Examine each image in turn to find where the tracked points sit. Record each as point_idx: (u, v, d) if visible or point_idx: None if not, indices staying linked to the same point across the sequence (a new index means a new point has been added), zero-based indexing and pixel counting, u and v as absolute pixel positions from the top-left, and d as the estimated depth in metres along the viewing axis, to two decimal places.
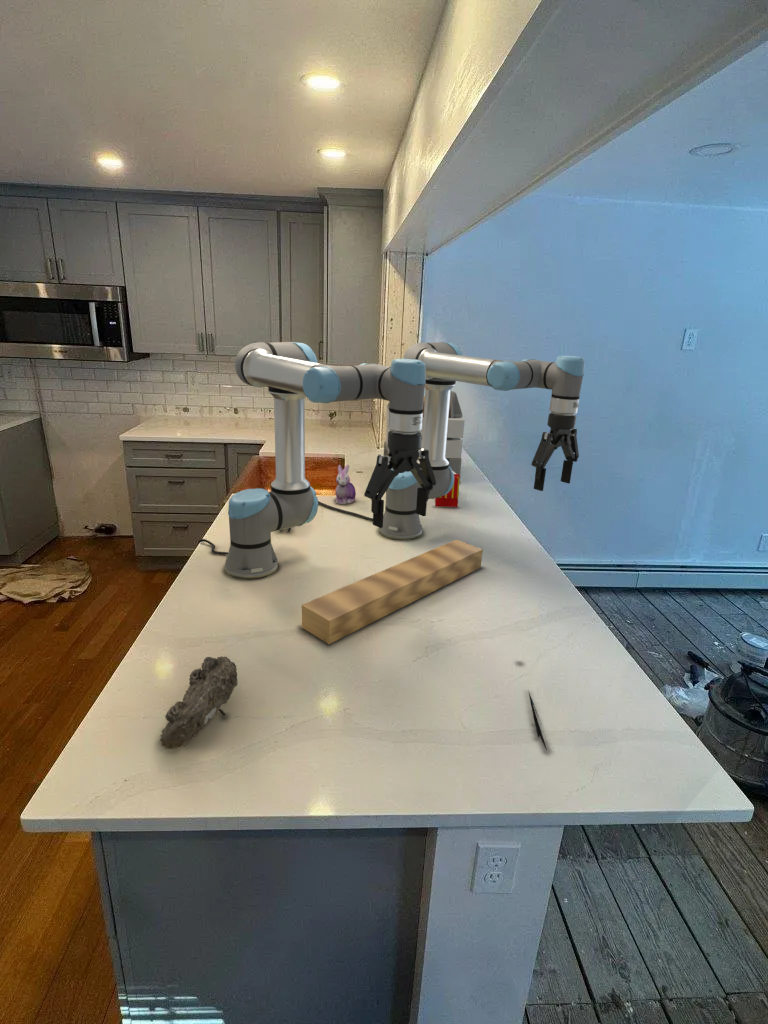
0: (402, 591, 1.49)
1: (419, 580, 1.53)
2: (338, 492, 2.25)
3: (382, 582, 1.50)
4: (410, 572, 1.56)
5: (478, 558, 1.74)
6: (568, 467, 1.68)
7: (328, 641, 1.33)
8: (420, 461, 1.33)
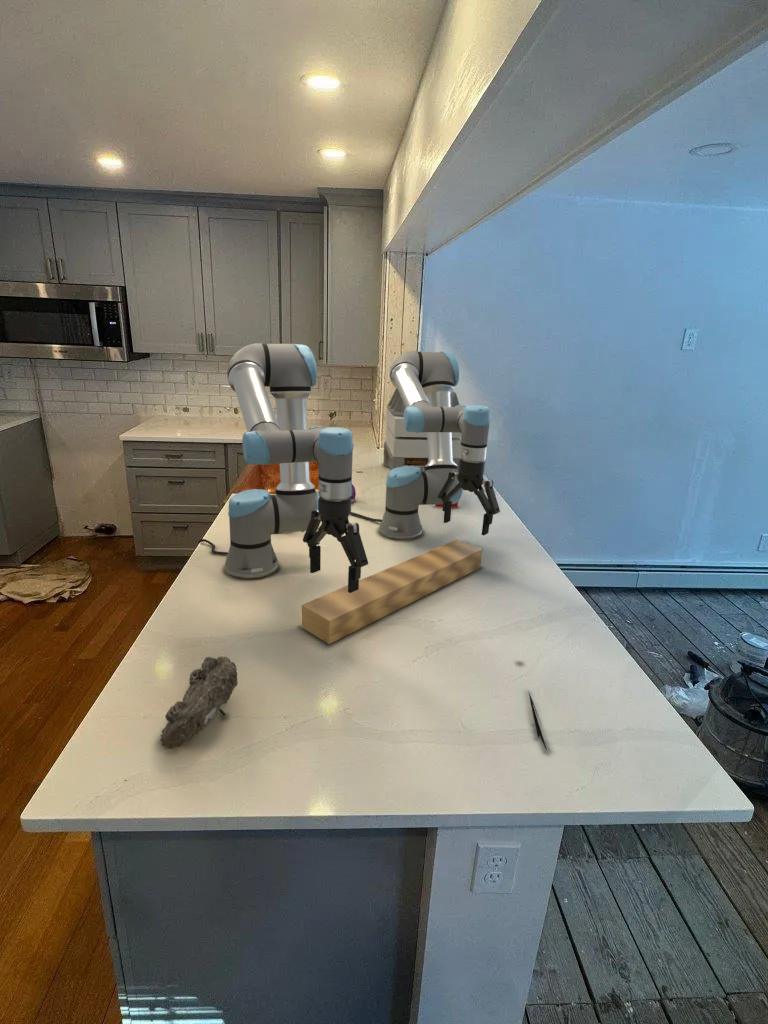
0: (402, 591, 1.49)
1: (419, 580, 1.53)
2: None
3: (382, 582, 1.50)
4: (410, 572, 1.56)
5: (478, 558, 1.74)
6: None
7: (328, 641, 1.33)
8: None
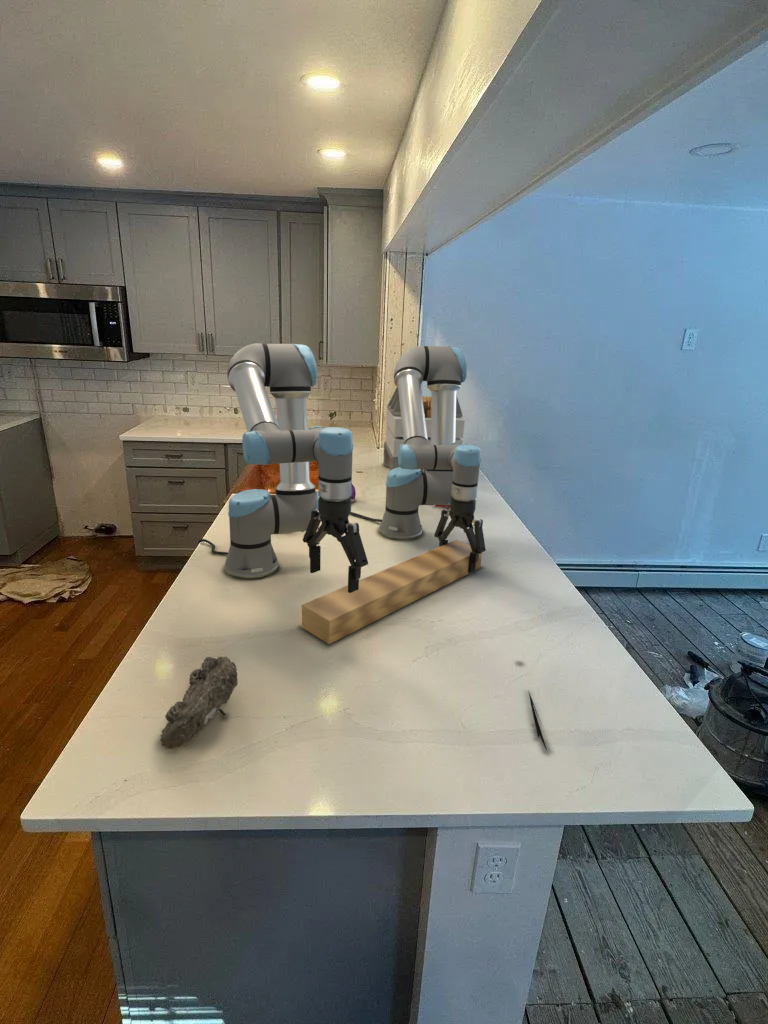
0: (402, 591, 1.49)
1: (419, 580, 1.53)
2: None
3: (382, 582, 1.50)
4: (410, 572, 1.56)
5: None
6: None
7: (328, 641, 1.33)
8: None
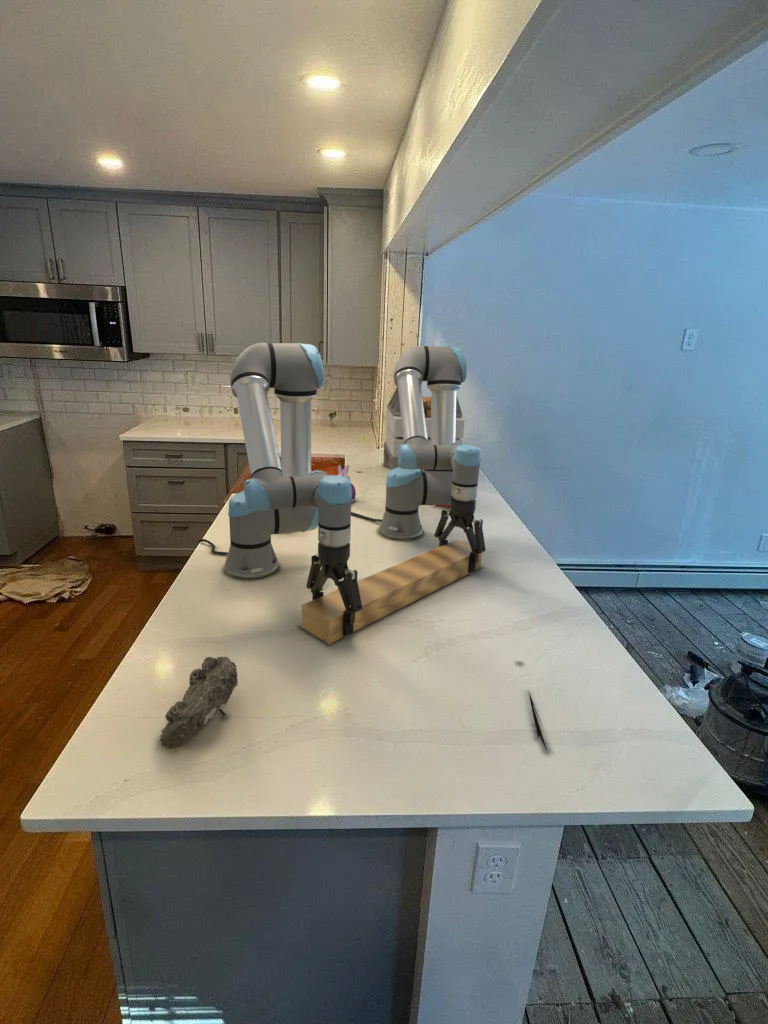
0: (402, 591, 1.49)
1: (419, 580, 1.53)
2: None
3: (382, 582, 1.50)
4: (410, 572, 1.56)
5: None
6: None
7: (328, 641, 1.33)
8: None
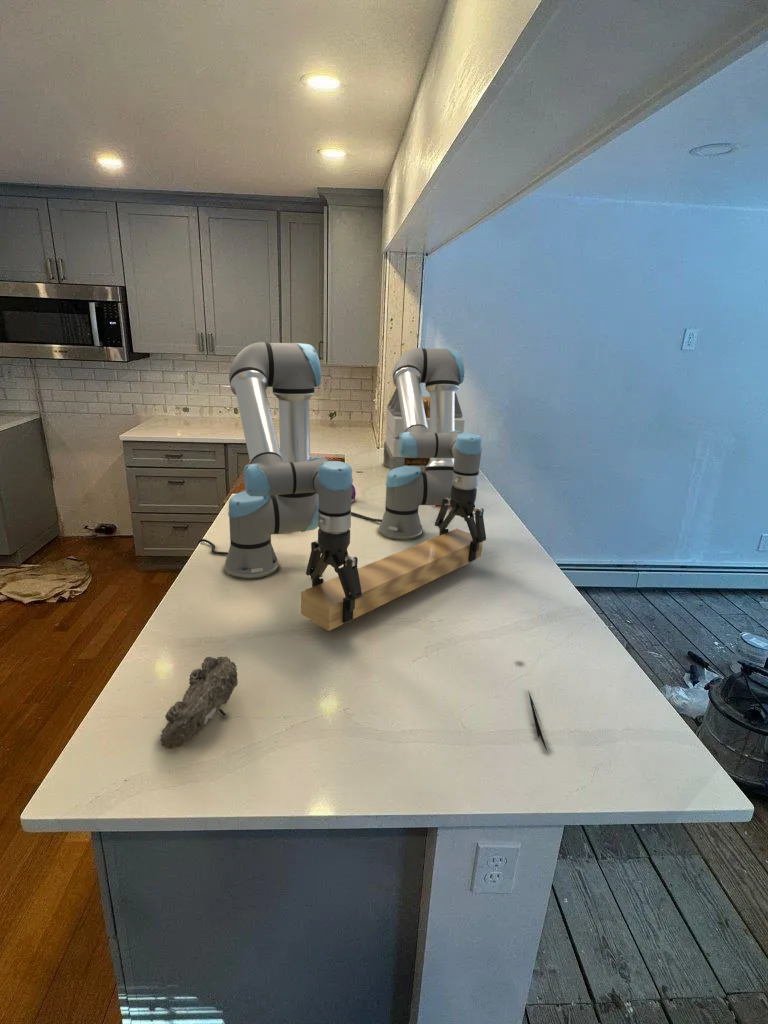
0: (402, 579, 1.48)
1: (419, 568, 1.53)
2: None
3: (382, 570, 1.49)
4: (410, 561, 1.56)
5: (479, 547, 1.73)
6: None
7: (327, 628, 1.32)
8: None
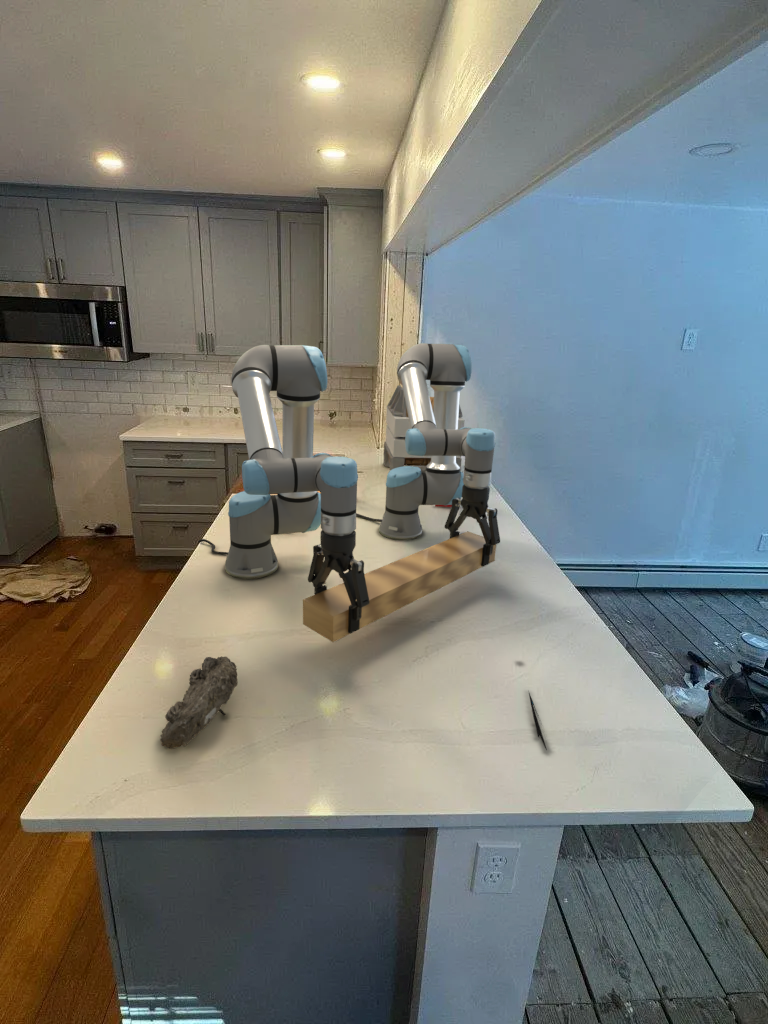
0: (412, 584, 1.37)
1: (429, 573, 1.42)
2: None
3: (389, 575, 1.38)
4: (419, 565, 1.45)
5: None
6: None
7: (332, 639, 1.21)
8: None
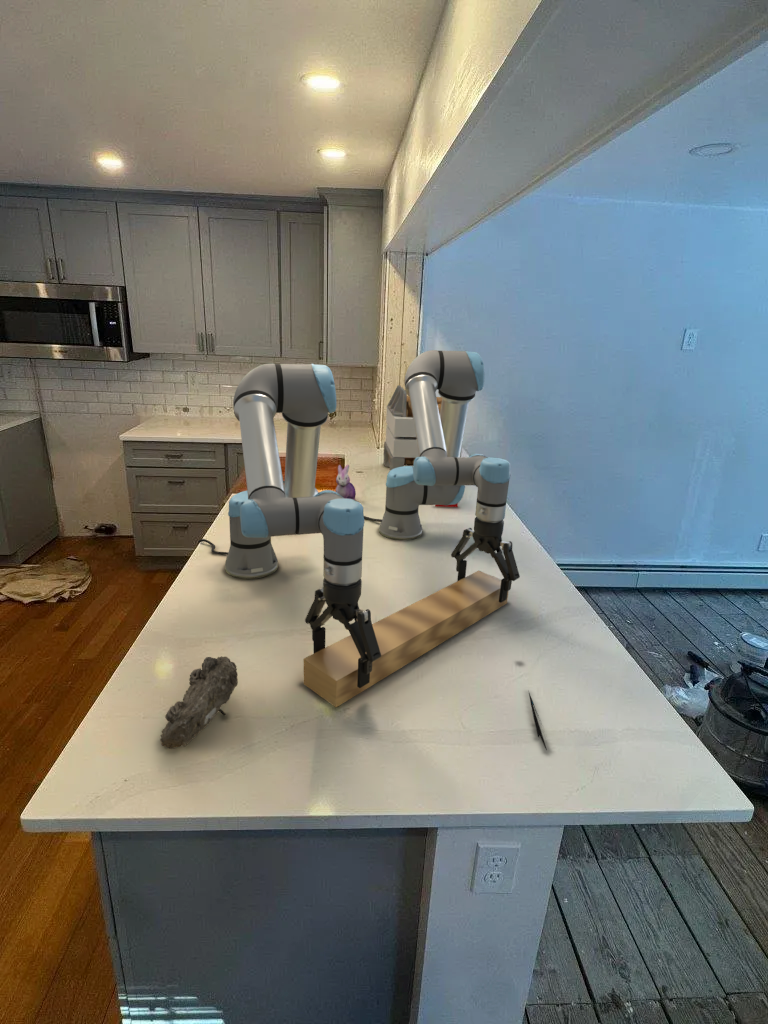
0: (421, 638, 1.28)
1: (439, 623, 1.32)
2: (338, 492, 2.25)
3: (397, 627, 1.29)
4: (428, 614, 1.36)
5: None
6: None
7: (335, 704, 1.12)
8: None
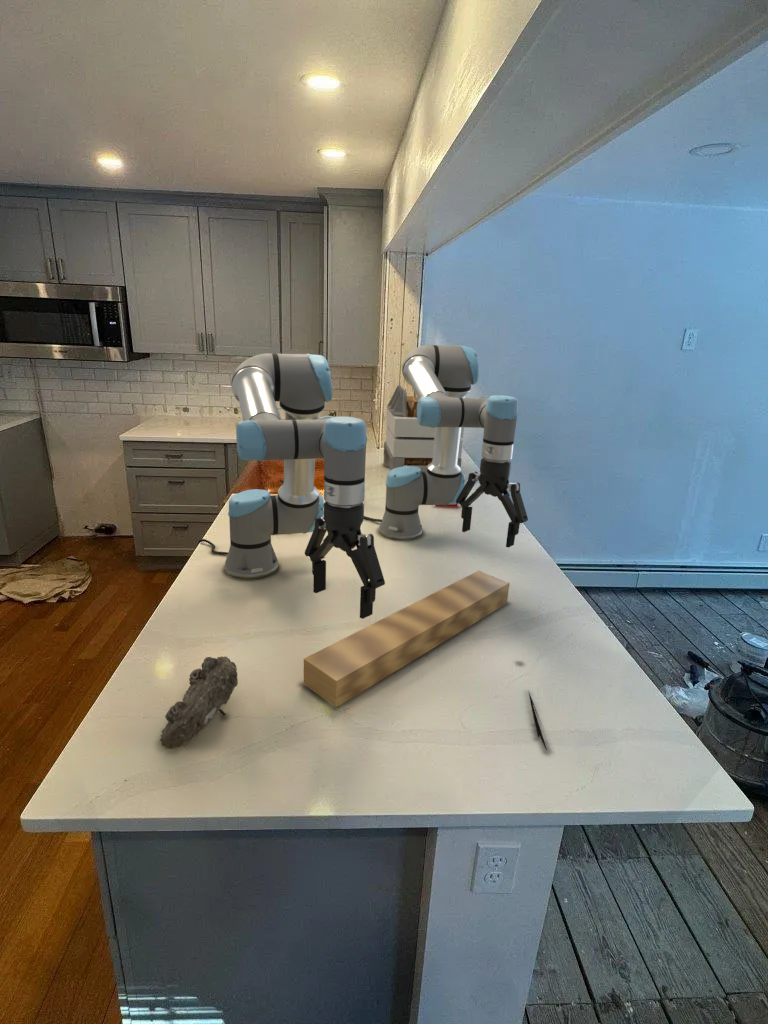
0: (421, 638, 1.28)
1: (439, 623, 1.32)
2: None
3: (397, 627, 1.29)
4: (428, 614, 1.36)
5: (505, 593, 1.53)
6: None
7: (335, 704, 1.12)
8: None
